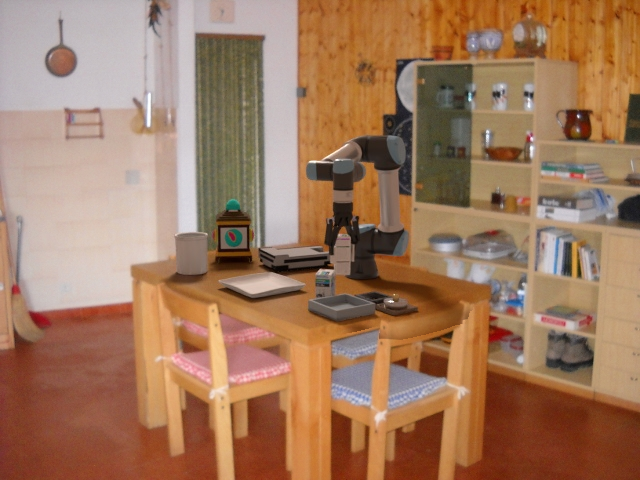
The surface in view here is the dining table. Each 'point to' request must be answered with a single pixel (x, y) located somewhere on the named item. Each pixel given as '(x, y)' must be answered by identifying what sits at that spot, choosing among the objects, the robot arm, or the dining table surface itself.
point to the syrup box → (343, 255)
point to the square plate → (262, 284)
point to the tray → (341, 307)
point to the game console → (294, 258)
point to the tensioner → (388, 303)
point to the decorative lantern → (233, 232)
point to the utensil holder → (191, 253)
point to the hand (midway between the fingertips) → (342, 262)
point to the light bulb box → (324, 283)
